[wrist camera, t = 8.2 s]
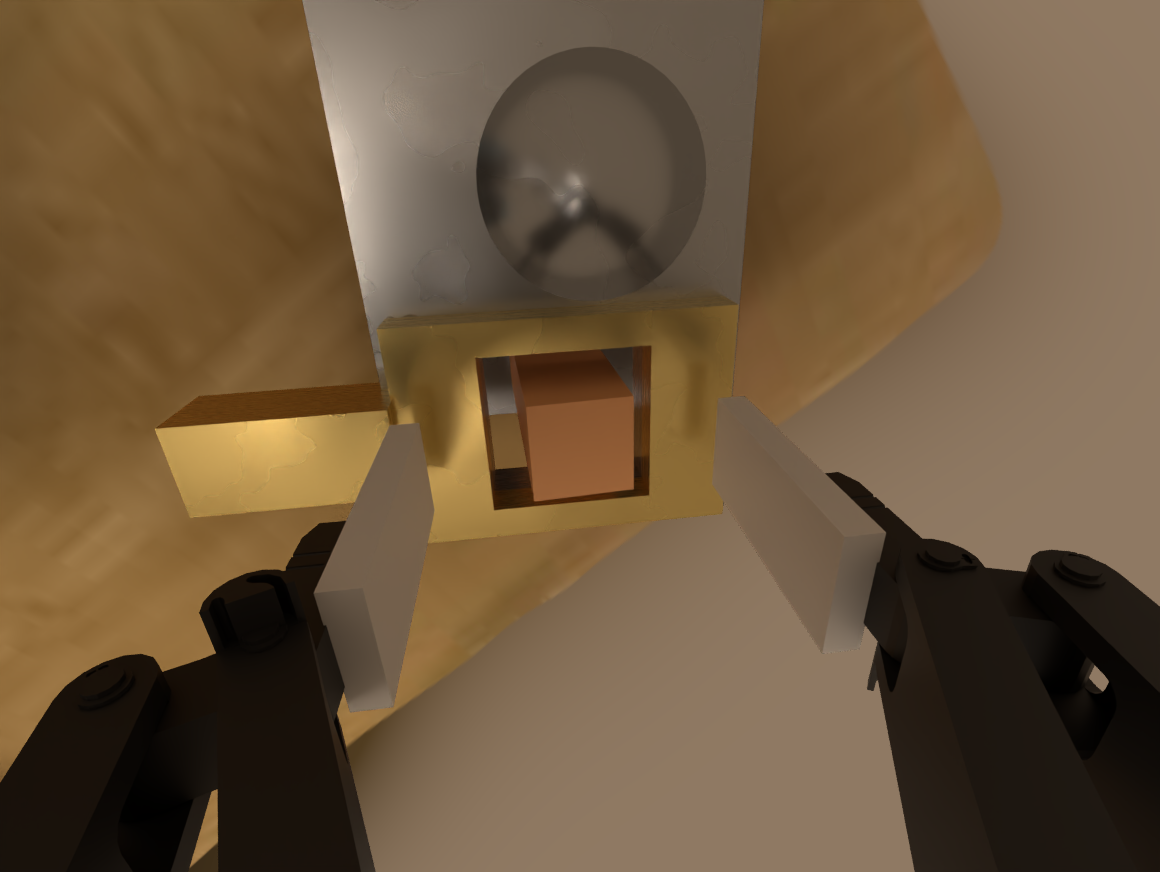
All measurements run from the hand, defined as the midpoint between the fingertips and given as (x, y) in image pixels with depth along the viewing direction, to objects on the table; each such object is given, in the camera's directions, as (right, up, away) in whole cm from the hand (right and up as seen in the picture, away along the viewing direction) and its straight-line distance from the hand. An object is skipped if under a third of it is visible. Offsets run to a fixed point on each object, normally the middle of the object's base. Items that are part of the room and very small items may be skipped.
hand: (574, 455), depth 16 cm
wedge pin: (-1, +4, +9) cm, 10 cm away
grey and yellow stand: (-4, +8, +9) cm, 13 cm away
